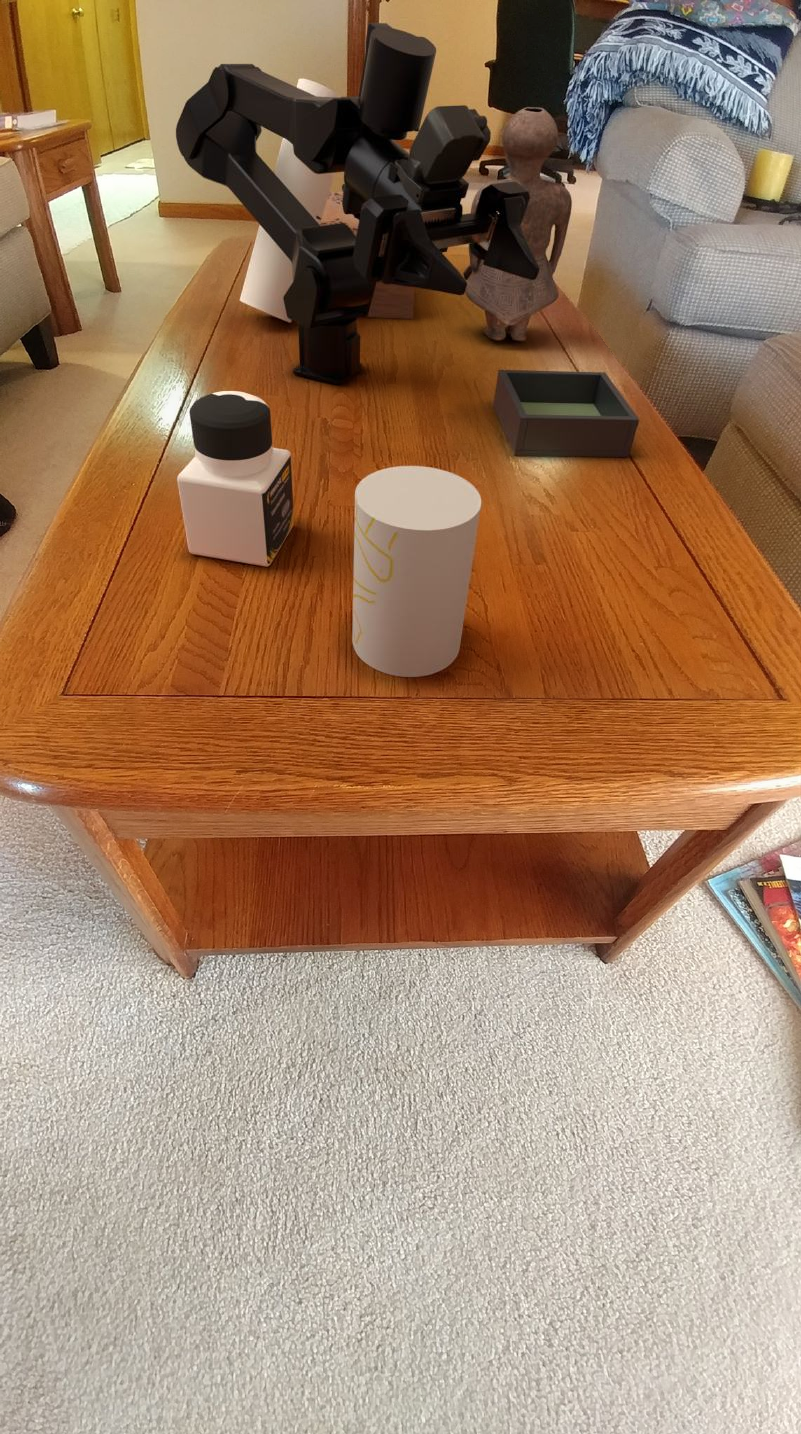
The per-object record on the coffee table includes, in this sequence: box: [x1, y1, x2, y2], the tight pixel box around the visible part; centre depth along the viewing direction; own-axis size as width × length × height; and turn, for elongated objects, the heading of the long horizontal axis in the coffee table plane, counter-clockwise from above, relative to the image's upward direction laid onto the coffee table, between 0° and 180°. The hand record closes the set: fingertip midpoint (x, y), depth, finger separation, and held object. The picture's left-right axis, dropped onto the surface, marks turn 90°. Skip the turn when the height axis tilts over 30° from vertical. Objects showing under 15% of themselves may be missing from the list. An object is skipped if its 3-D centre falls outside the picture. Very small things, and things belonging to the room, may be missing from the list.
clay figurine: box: [462, 106, 573, 342], centre depth 96 cm, size 13×10×25 cm
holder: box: [492, 369, 640, 458], centre depth 83 cm, size 13×13×4 cm
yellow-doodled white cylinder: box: [351, 465, 482, 678], centre depth 53 cm, size 8×8×12 cm
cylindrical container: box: [239, 78, 343, 323], centre depth 97 cm, size 7×7×25 cm
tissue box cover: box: [320, 190, 416, 320], centre depth 113 cm, size 26×14×10 cm, turn 3°
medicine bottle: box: [176, 390, 295, 567], centre depth 61 cm, size 7×7×12 cm
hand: (501, 281), depth 67 cm, fingers open, 9 cm apart
